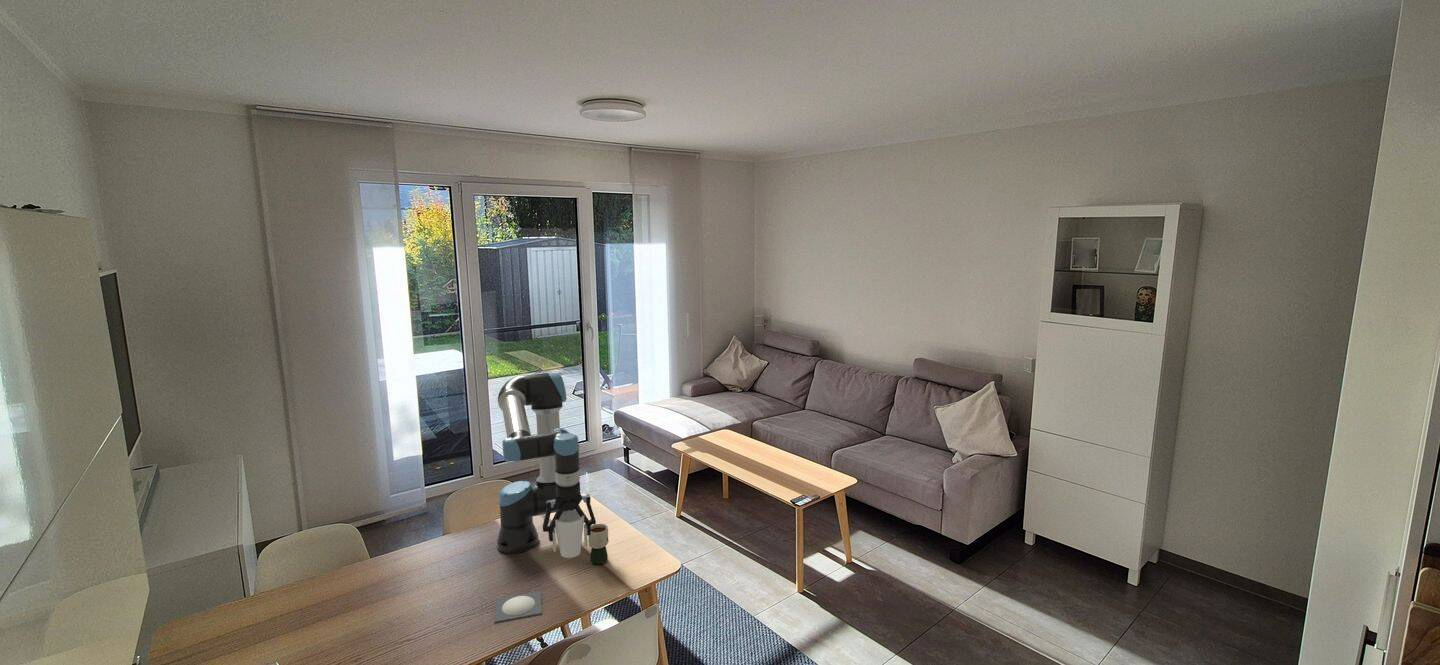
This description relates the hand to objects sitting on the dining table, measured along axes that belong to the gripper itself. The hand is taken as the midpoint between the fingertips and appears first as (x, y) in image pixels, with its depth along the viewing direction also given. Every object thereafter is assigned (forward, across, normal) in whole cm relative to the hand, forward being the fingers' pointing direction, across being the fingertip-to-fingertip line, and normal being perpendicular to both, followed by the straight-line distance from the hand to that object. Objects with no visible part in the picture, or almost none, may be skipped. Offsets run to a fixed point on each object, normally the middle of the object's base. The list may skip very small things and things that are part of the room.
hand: (570, 546), depth 197 cm
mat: (+17, -17, -1) cm, 24 cm away
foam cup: (+2, 0, 0) cm, 2 cm away
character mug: (+18, +11, +18) cm, 27 cm away
